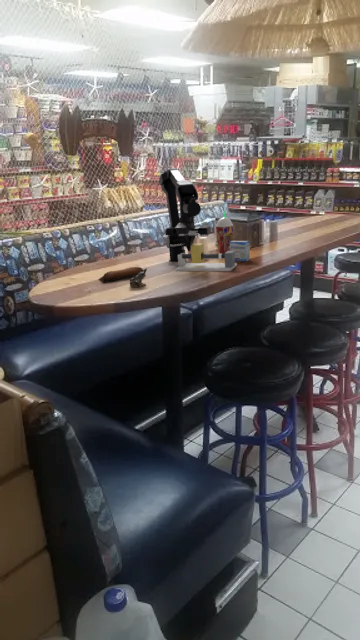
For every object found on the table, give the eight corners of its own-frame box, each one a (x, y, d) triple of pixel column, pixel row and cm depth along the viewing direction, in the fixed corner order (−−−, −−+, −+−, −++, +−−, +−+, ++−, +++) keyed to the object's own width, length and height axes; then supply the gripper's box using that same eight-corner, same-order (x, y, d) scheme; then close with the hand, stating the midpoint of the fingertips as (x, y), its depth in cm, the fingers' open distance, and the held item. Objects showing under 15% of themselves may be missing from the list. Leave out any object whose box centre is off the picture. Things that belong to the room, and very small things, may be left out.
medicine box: (230, 261, 231) (229, 241, 229) (233, 259, 235) (233, 240, 232) (246, 261, 228) (246, 242, 225) (250, 259, 231) (249, 240, 229)
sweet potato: (135, 272, 221) (138, 260, 216) (142, 282, 217) (145, 270, 213) (96, 279, 213) (97, 267, 208) (103, 290, 209) (104, 278, 204)
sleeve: (191, 263, 220) (190, 245, 217) (195, 260, 224) (194, 243, 222) (200, 263, 218) (199, 245, 216) (204, 260, 223) (203, 243, 221)
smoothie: (234, 254, 245) (233, 211, 239) (217, 255, 246) (215, 213, 239) (233, 251, 253) (232, 210, 247) (216, 252, 253) (214, 211, 247)
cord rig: (175, 270, 220) (174, 254, 218) (184, 264, 230) (183, 249, 228) (230, 271, 211) (229, 254, 209) (237, 265, 222) (236, 249, 220)
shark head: (144, 286, 201) (142, 268, 201) (153, 285, 196) (151, 267, 196) (127, 288, 197) (125, 270, 196) (136, 288, 192) (134, 269, 191)
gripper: (159, 217, 212) (162, 254, 217) (202, 216, 206) (204, 254, 211) (168, 213, 222) (171, 249, 227) (210, 212, 216) (212, 249, 221)
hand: (189, 251), depth 221 cm, fingers closed
